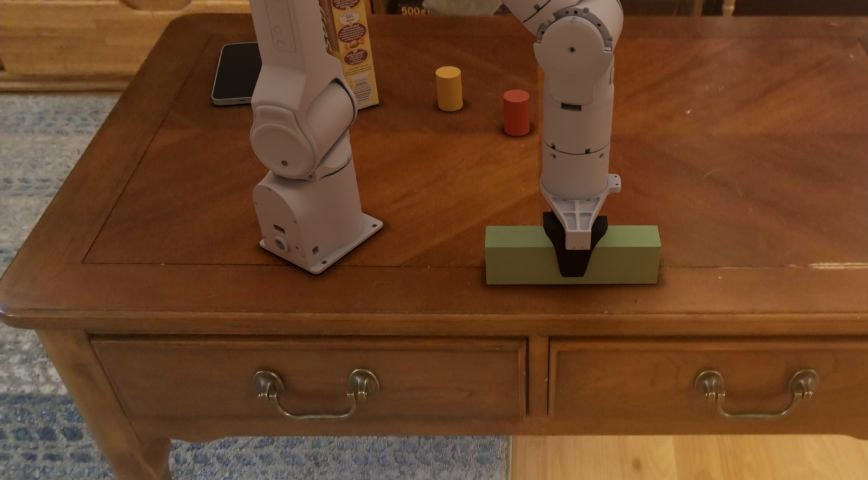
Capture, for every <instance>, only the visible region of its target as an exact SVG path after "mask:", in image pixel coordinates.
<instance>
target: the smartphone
mask: <svg viewBox="0 0 868 480" xmlns="http://www.w3.org/2000/svg"><path fill="white" fill-rule="evenodd" d="M261 68H262V60H261V55H260V50H259V46H258V41H251V42H250V41H249V42H248V41H247V42H235V43H227V44H225V45H223V46H222V47H221V50H220V55H219V60H218V64H217V68H216V73H215V78H214V83H213V86H212V91H211V100H212V103H213V105H216V106H228V105H229V106H230V105H242V104H243V105H244V104H251V100H252V96H253V93H254V90H255V87H256V84H257V81H258V78H259V75H260V72H261Z"/></svg>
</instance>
